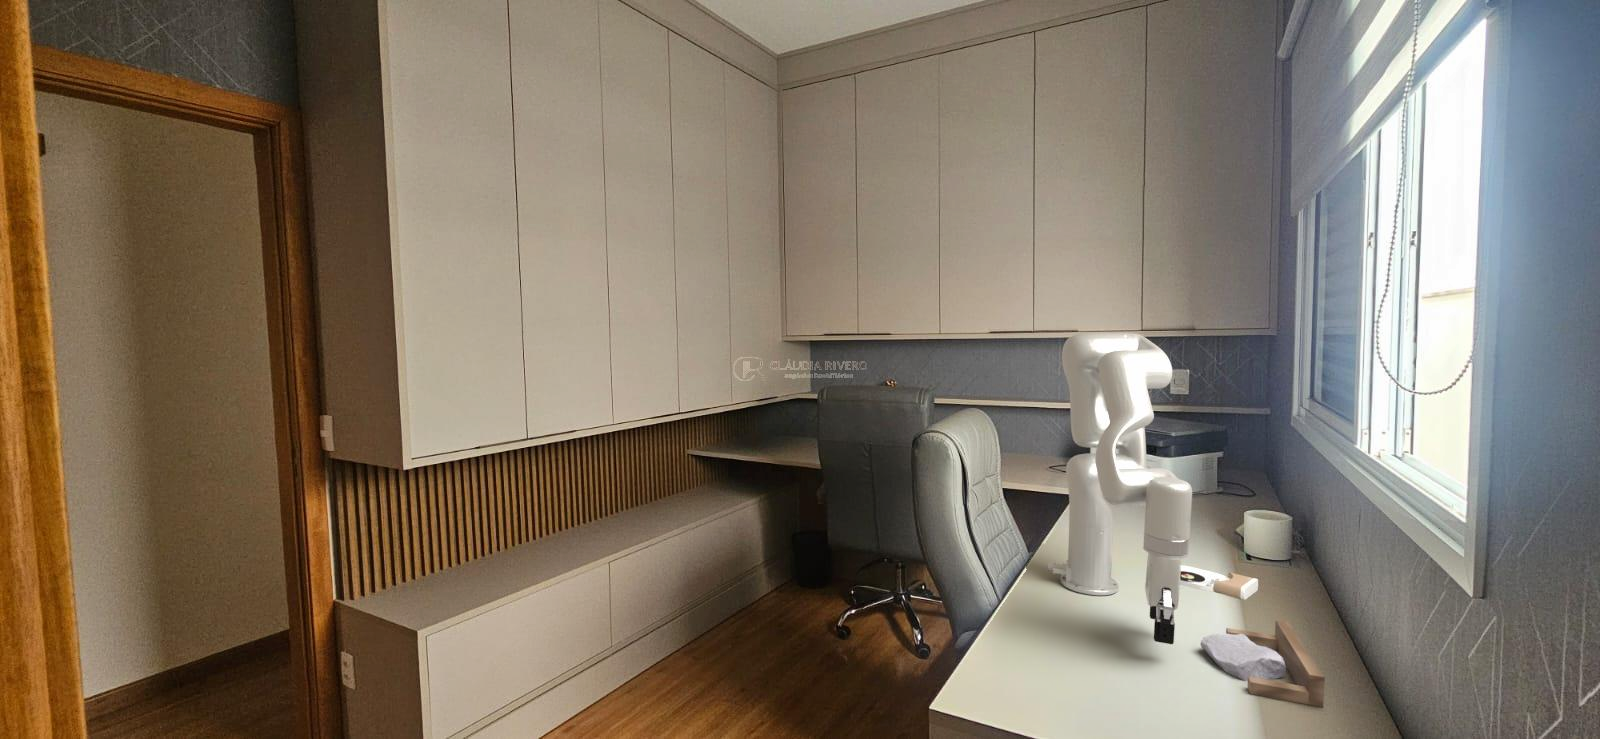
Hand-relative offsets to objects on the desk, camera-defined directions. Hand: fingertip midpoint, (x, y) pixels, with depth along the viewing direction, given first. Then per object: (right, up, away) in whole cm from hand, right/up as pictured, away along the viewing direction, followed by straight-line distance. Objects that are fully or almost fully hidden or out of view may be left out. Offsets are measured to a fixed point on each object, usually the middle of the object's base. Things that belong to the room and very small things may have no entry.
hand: (1161, 630), depth 128 cm
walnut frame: (+16, -4, -7) cm, 18 cm away
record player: (+28, -2, +33) cm, 44 cm away
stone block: (+11, -5, -5) cm, 13 cm away
